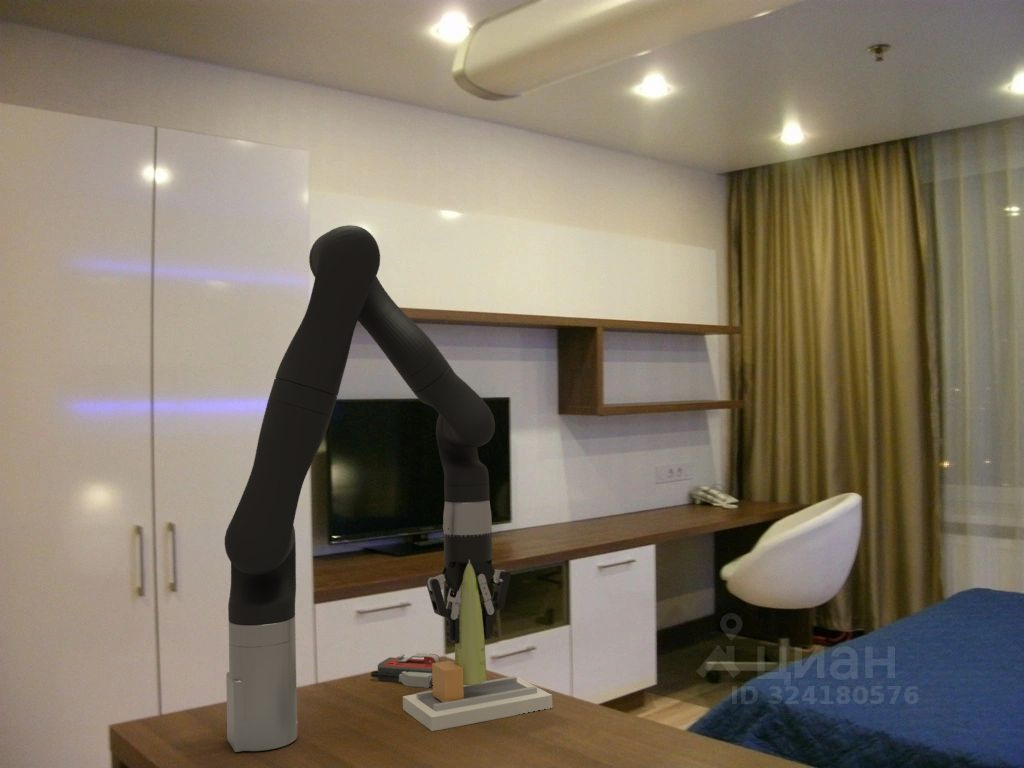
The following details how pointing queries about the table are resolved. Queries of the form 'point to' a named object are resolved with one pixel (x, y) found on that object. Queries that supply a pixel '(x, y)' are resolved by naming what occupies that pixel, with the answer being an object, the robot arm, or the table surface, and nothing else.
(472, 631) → the tube
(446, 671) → the switch tab
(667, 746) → the table surface
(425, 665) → the walkie-talkie
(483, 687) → the switch board
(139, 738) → the table surface
